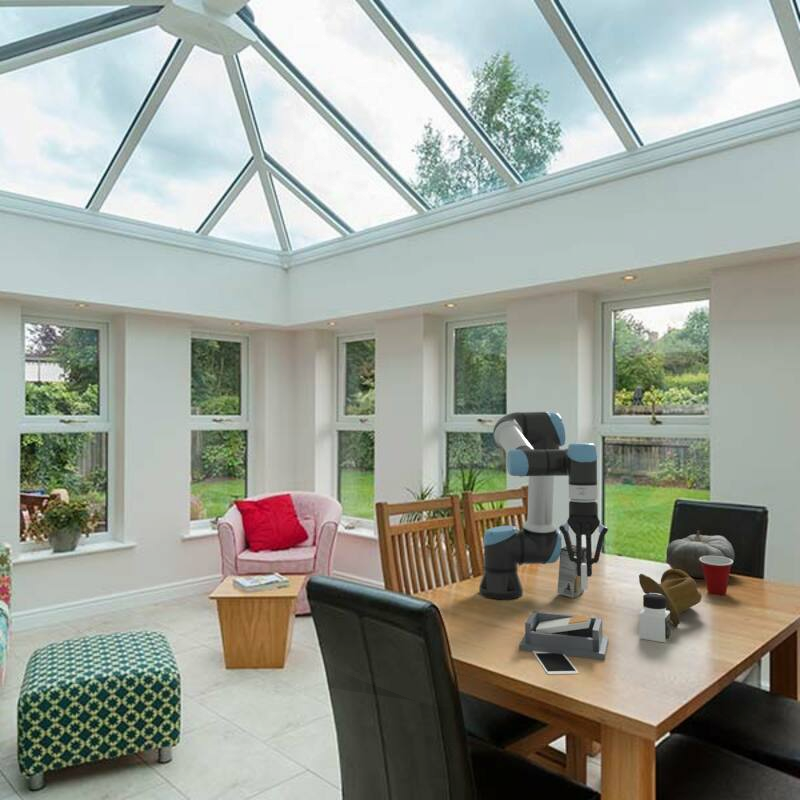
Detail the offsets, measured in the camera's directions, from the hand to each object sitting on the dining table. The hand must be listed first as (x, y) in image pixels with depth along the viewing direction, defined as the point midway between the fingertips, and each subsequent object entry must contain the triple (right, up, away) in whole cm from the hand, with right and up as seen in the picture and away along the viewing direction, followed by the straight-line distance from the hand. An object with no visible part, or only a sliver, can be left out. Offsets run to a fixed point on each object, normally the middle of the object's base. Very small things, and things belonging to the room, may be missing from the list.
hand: (584, 588), depth 180 cm
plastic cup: (+61, -17, +54) cm, 84 cm away
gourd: (+68, -18, +82) cm, 108 cm away
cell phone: (-10, -17, -10) cm, 22 cm away
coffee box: (+10, -17, +55) cm, 59 cm away
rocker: (-5, -11, +2) cm, 12 cm away
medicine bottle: (+22, -16, +9) cm, 29 cm away
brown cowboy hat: (+35, -17, +28) cm, 48 cm away
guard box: (-5, -16, +2) cm, 17 cm away
